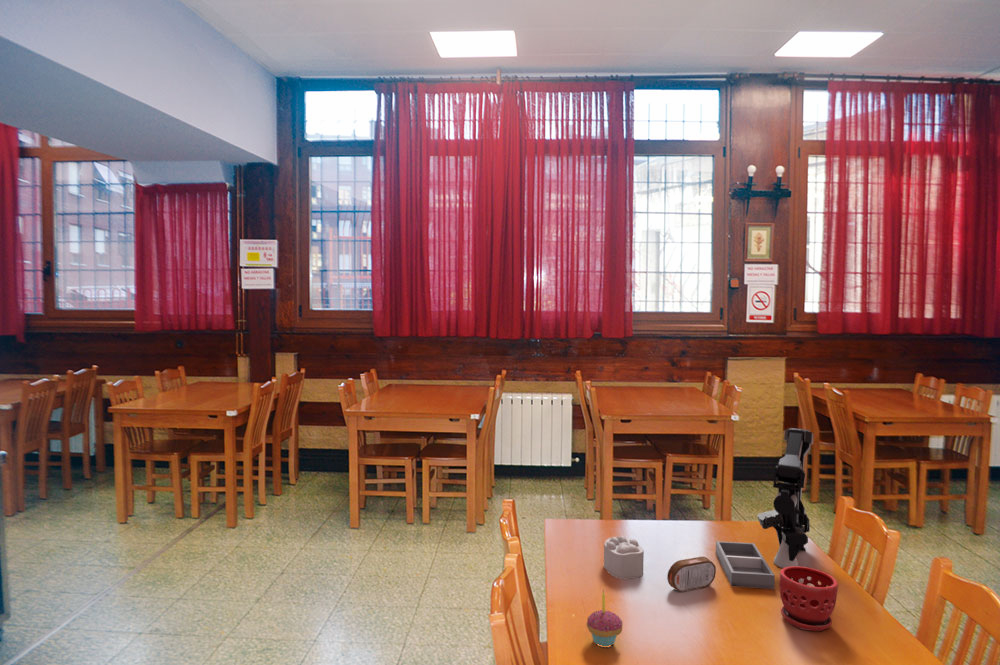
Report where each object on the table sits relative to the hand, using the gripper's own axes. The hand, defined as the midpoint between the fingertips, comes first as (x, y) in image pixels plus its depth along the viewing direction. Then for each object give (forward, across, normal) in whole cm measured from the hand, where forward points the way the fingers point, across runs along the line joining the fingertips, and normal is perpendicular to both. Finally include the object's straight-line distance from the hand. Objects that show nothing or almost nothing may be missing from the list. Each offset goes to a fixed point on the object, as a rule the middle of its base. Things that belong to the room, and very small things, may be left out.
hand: (786, 554), depth 191 cm
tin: (+3, +20, -31) cm, 37 cm away
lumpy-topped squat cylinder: (+3, +10, -50) cm, 51 cm away
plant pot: (+3, +34, -5) cm, 35 cm away
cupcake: (+3, +51, -56) cm, 76 cm away
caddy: (+3, +6, -14) cm, 16 cm away
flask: (+3, 0, 0) cm, 3 cm away
